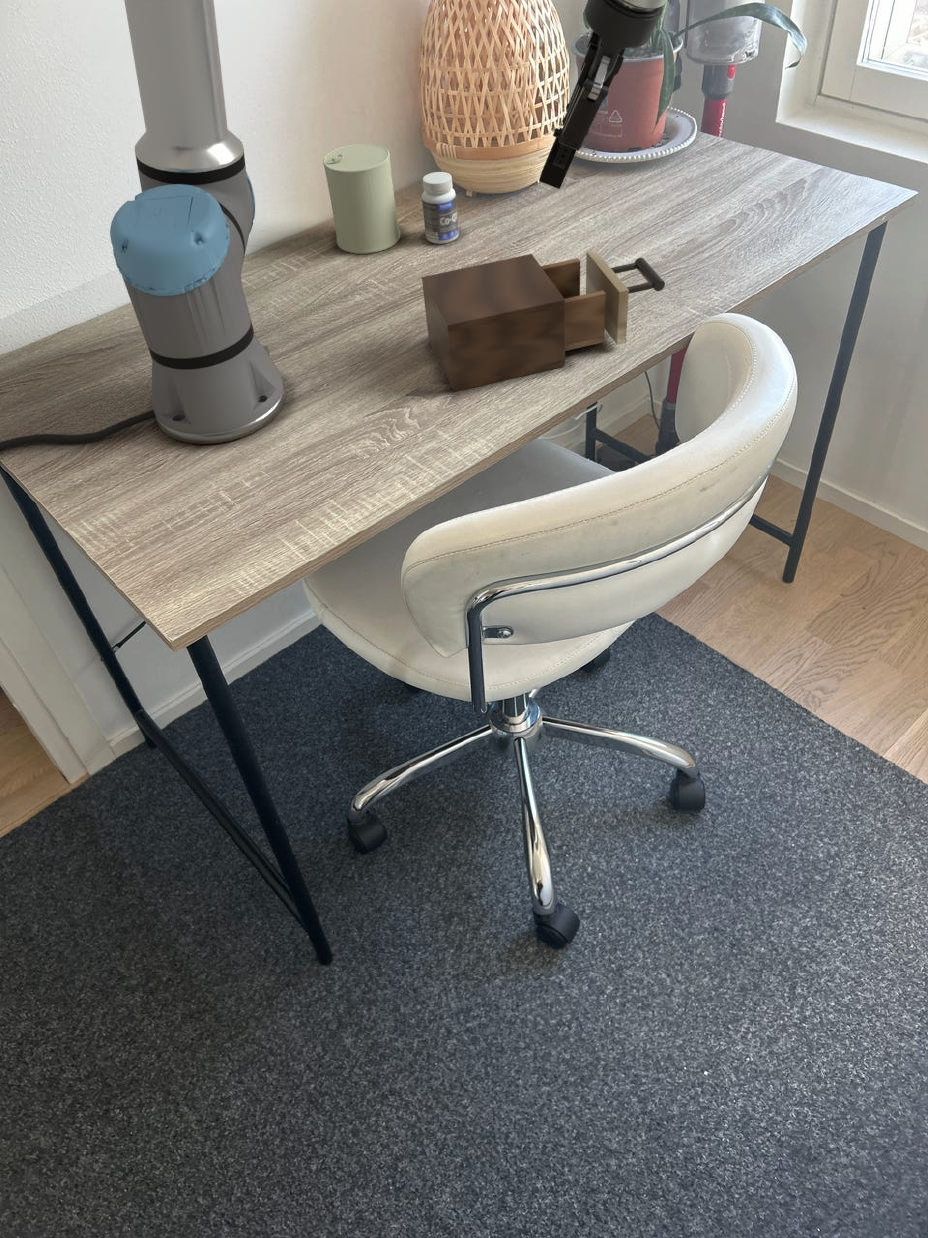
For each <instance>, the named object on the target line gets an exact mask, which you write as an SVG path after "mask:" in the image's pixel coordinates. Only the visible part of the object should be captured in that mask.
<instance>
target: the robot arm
mask: <svg viewBox="0 0 928 1238" xmlns="http://www.w3.org/2000/svg"><path fill="white" fill-rule="evenodd" d="M667 1H668V0H587V2H586V4H585V7H584V18H585V21H586V23H587V24H588V26H589V28H590V29H591V30H592V32H591V34H590V37H589V39H588V42H587V48H586V49H587V50H586V52H585V55H584V57H583V60H582V63H581V67H580V73H579V76H578V77H577V81H576V83H575V85H574V87H573V88H574V89H573V91H572V94H571V96H570V99H569V102H568V103H566V106H565V112H566V113H565V115H564V116H563V117H562V120H561V126H562V127H559V128H557V127H555V128H554V130H553V134H552V137H554V138H555V139H554V140H553V143H552V146H551V148H550V151H549V153H548V155H547V158H546V160H545V162H544V165H543V167H542V170H541V172H540V175H539V180H538V181H539V182H541V183H543V184H546V185H548V186H550V187H553V188H555V189H557V190H560V189H561V187H562V184H563V182H564V180H565V178H566V175H567V173H568V172H569V170H570V166H571V164H572V162H573V159H574V157H575V155H576V153H577V152H579V151H580V149H581V148H582V146H583V142H584V140H585V139H586V136H588V134H589V131H590V128H591V126H592V124H593V121H594V119H595V118H596V117H597V113H598V112H599V110H600V107H601V106H602V104H603V102H604V101H605V99H606V98H607V97H608V95H609V90H610V87H611V84H612V82H613V80H614V78H615V76H616V75H618V74H619V72H620V70H621V68H622V65H623V63H624V60H625V57H624V53H625V51H626V49H637V48H640V47H643V46H645V45H646V44H647V43H648V42H649V41H650V39H651V37H652V36H653V32H654V31H655V28H656V27H657V25H658V22H659V20H660V18H661V16H662V13H663V9H664V7H663V6H664V5H665V4H666V3H667ZM123 2H124V7H125V13H126V19H127V26H128V32H129V37H130V44H131V49H132V56H133V62H134V67H135V73H136V78H137V79H136V80H137V85H138V91H139V97H140V104H141V110H142V115H143V121H144V125H145V126H144V127H145V132H144V133H143V134H142V135H141V137H140V138H139V139H138V140H137V142H136V143H135V144H134V156H135V160H136V166H137V172H138V178H139V183H140V189H141V192H139V193H138V194H136V195H135V196H134V199H133V200H127V201H125V202H124V203H123V204H122V205H121V206H120V207H119V209H118V210H117V211H116V212H115V213H114V216H113V218H112V220H111V224H110V228H109V236H110V237H109V238H110V242H111V245H112V251H113V252H112V253H113V257H114V261H115V265H116V268H117V269H118V272H119V274H120V275H121V278H122V280H123V283H124V285H125V288H126V291H127V294H128V296H129V299H130V302H131V305H132V308H133V310H134V314H135V316H136V319H137V322H138V324H139V327H140V329H141V332H142V336H143V338H144V340H145V343H146V346H147V348H148V353H149V355H150V359H151V361H152V362H151V406H152V409H150V410H147V411H145V412H142V413H140V414H137V415H134V416H132V417H129V418H127V419H124V420H122V421H121V420H120V421H118V422H117V423H114V424H113V425H110V426H108V427H106V428H104V429H100V430H98V431H94V432H88V433H82V434H81V433H80V434H62V433H61V434H60V433H59V434H57V433H40V434H29V435H24V436H17V437H14V438H9V439H5V440H1V441H0V451H3V450H7V449H10V448H14V447H19V446H24V445H30V444H37V443H38V444H39V443H58V444H61V443H63V444H64V443H65V444H79V443H80V444H81V443H89V442H94V441H99V440H102V439H105V438H108V437H110V436H113V435H115V434H116V433H120V432H121V431H123V430H125V429H128V428H130V427H133V426H136V425H138V424H141V423H145V422H146V421H150V420H152V419H154V418H155V420H156V422H157V425H158V427H159V429H160V430H161V431H162V432H163V433H164V434H165V435H166V436H168V437H170V438H172V439H174V440H176V441H179V442H184V443H188V444H196V445H211V444H220V443H221V444H222V443H226V442H231V441H234V440H238V439H241V438H244V437H247V436H249V435H251V434H253V433H255V432H258V431H259V430H261V429H262V428H264V427H265V426H267V425H268V424H270V423H271V422H272V421H273V420H274V419H275V418H276V417H277V416H278V415H279V414H280V413H281V412H282V410H283V408H284V406H285V404H286V400H287V390H286V386H285V381H284V379H283V376H282V374H281V372H280V370H279V369H278V367H277V365H276V364H275V362H274V361H273V359H272V358H271V354H270V349H269V346H268V345H263V344H262V343H261V342H260V341H261V340H259V339H258V337H257V335H256V334H255V330H254V326H253V322H252V318H251V314H250V309H249V305H248V303H247V297H246V295H245V291H244V287H243V281H242V271H243V267H244V261H245V255H246V252H247V247H248V242H249V237H250V234H251V231H252V229H253V225H254V220H255V216H256V199H255V198H256V197H255V192H254V189H253V184H252V182H251V179H250V176H249V174H248V172H247V167H246V158H245V148H244V145H243V142H242V141H241V140H240V138H239V137H237V136H236V135H235V134H234V133H233V132H232V131H231V130H229V128H228V120H227V119H228V118H227V111H226V109H227V108H226V101H225V92H224V91H225V90H224V82H223V75H222V64H221V63H222V62H221V55H220V47H219V46H220V45H219V36H218V29H217V28H218V27H217V20H216V9H215V1H214V0H123Z"/></svg>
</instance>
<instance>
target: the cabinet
mask: <svg viewBox="0 0 928 1238" xmlns="http://www.w3.org/2000/svg"><path fill="white" fill-rule="evenodd" d="M541 266H542V265H541V264H539V262H538V261H537V259H536V257H534V255H533V254H532V253H529V254H523V255H519V256H514V257H509V258H505V259H500V260H496V261H491V262H487V263H481V264H476V265H472V266H468V267H463V268H459V269H453V270H449V271H443V272H440V273H434V274H430V275H426V276H421V283H422V293H423V301H424V309H425V318H426V319H425V320H426V327H427V328H426V329H427V336H428V342H429V345H430V346H431V348H432V350H433V352H434V354H435V356H436V359H437V361H438V363H439V364H440V366H441V369H442V370H443V372H444V374H445V376H446V379H447V380H448V383H449V385H450V387H451V389H452V391H453V393H454V392H455V393H456V392H460V391H464V390H469V389H472V388H477V387H482V386H485V385H489V384H494V383H499V382H503V381H507V380H511V379H515V378H520V377H525V376H529V375H534V374H537V373H542V372H547V371H551V370H555V369H560V368H564V367H565V366H566V351H565V299H564V298H563V296H562V295H561V294H560V292H559V291H558V290H557V288H556V287H555V285H554V284H553V283H552V281H551V280H550V278H549V277H548V276H547V274H546V273H545V272H544V270H543V269H542V267H541Z"/></svg>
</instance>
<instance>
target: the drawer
mask: <svg viewBox="0 0 928 1238" xmlns="http://www.w3.org/2000/svg"><path fill="white" fill-rule="evenodd" d="M585 255H586V259H585V260H586V261H585V264H586V265H585V293H584V294H581V260H580V259H579V257H577V258H573V259H567V260H563V261H559V262H553V263H549V264H545V265H540V266H541V267H542V269H543V270H544V272H545V273H546V274H547V276H548V277H549V278H550V280H551V281H552V283H553V284H554V285H555V287H556V288H557V290H558V291H559V292H560V294H561V295H562V296H563V298H564V299H565V352H566V351H571V350H576V349H579V348H584V347H588V346H593V345H598V344H602V343H604V342H605V331H606V333H608V335H609V336H610V337H611V339H612V340H613V342H614V343H615V344H616V345H617V346H618V345H623V344H626V343H627V335H628V330H627V329H628V314H629V313H628V312H629V295H630V294H634V293H638V292H644V291H649V290H652V289H653V290H654V291H656V292H661V291H662V290H664V288H665V286H666V281H665V280H664V279H663V278H662V277H661V276H660V274H658V273H657V271H656V270H654V267H652V266H651V265H650V264H649V262H647V260H646V259H645V258H644V257H638V258H637V259H635V261H634V262H631V263H627V264H622V265H618V266H617V265H616V266H613V267H610V266H609V264H608V263H607V261H605V259H604V258H603V257H602V256H601V254H600V253H599V252H598V251H597V250H596V249H594V250H589V251H586V254H585ZM633 270H637V272H639V274H640V275H641V276H642V278H644V280H645V281H646V282H644V283H640V284H635V285H631V286H626V284H625V283H624V282H623V281H622V280H621V279H620V277H619V276H618V275H617V274H621V273H626V272H630V271H633Z"/></svg>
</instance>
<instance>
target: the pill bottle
mask: <svg viewBox="0 0 928 1238" xmlns="http://www.w3.org/2000/svg"><path fill="white" fill-rule="evenodd" d="M422 187H423V191H422V194H421V204H422V211H423V212H422V213H423V220H424V221H423V223H424V232H425V238H426V240H427V241H428V242H430V243H433V244H437V245H440V244H441V245H443V244H448V243H451V242H453V241H455V240H457V238H459V235H460V234H459V219H458V207H457V195H456V191H455V189H454V188H453V177H452V175H451V174H450V173H448V172H444V171H433V172H430V173H428V174H425V175H424V176H423V178H422Z"/></svg>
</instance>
